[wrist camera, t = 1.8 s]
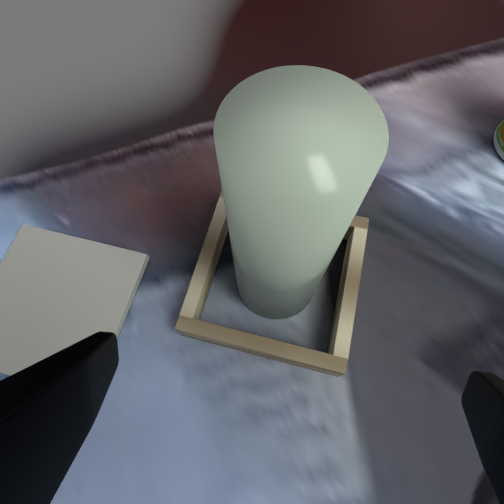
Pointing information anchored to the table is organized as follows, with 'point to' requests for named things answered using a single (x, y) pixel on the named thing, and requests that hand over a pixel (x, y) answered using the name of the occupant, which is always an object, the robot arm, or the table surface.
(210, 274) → the birch collar
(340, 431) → the table surface
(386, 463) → the table surface
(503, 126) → the supplement bottle
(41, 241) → the cream square tile
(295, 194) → the ceramic canister
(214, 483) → the table surface
